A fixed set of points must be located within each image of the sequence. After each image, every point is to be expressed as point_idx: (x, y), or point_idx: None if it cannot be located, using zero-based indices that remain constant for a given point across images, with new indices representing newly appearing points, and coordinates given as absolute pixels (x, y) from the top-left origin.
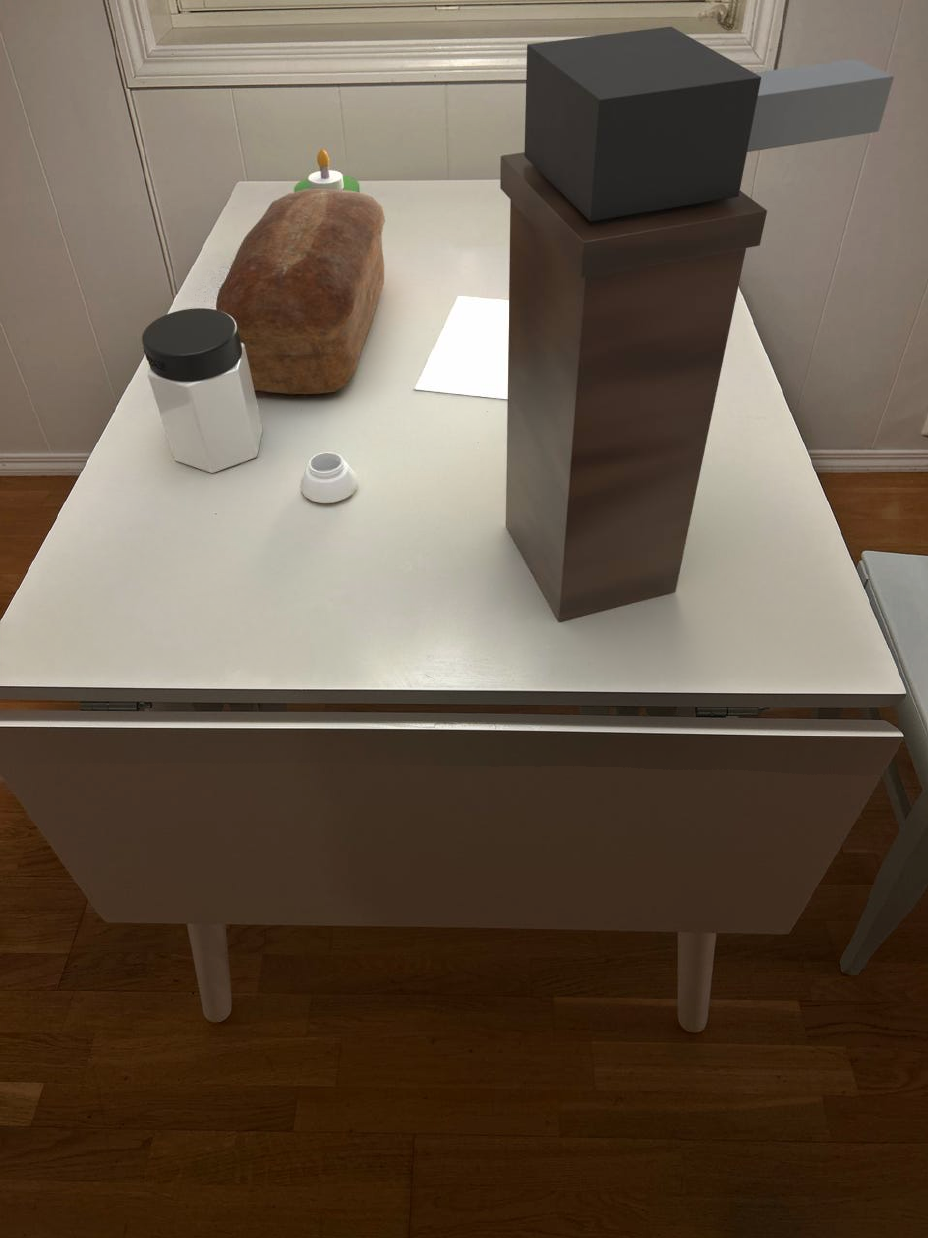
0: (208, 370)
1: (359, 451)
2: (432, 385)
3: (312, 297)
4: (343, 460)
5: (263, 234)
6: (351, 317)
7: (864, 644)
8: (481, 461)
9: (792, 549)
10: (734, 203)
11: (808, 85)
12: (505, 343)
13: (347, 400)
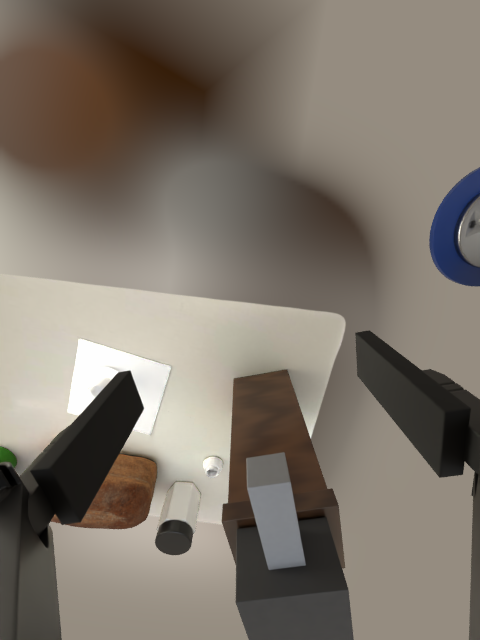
0: (190, 530)
1: (191, 453)
2: (148, 428)
3: (137, 503)
4: (210, 467)
5: (87, 526)
6: (136, 481)
7: (326, 316)
8: (202, 417)
9: (273, 322)
10: (326, 515)
11: (294, 526)
12: None
13: (157, 456)
